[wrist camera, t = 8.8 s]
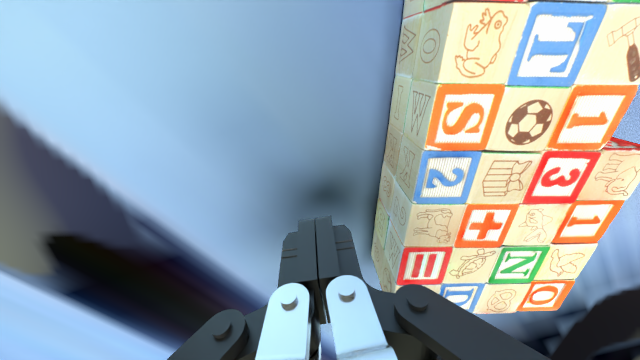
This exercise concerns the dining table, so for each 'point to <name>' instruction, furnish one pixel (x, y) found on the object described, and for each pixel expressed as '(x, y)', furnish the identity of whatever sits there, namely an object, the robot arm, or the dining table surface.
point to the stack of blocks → (505, 147)
